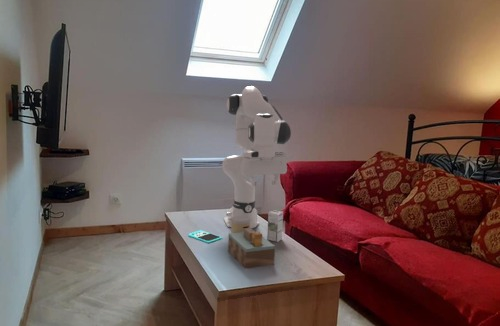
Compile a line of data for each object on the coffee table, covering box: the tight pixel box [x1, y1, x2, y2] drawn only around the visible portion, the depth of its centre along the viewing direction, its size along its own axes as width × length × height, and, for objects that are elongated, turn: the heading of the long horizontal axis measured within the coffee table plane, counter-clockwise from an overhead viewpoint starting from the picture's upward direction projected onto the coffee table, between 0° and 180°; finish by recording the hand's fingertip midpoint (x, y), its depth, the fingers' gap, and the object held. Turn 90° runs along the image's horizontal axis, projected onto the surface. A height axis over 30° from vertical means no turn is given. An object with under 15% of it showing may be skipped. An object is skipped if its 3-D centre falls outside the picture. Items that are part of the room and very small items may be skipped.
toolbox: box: [227, 236, 276, 269], centre depth 178 cm, size 20×13×8 cm, turn 24°
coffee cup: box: [230, 216, 250, 233], centre depth 199 cm, size 9×9×12 cm
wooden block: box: [252, 231, 263, 247], centre depth 172 cm, size 3×3×13 cm
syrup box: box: [266, 209, 284, 243], centre depth 204 cm, size 6×6×14 cm
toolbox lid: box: [228, 228, 276, 252], centre depth 177 cm, size 20×13×5 cm, turn 24°
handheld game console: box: [188, 229, 223, 244], centre depth 205 cm, size 10×16×1 cm, turn 51°
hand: (264, 185), depth 172 cm, fingers open, 8 cm apart
